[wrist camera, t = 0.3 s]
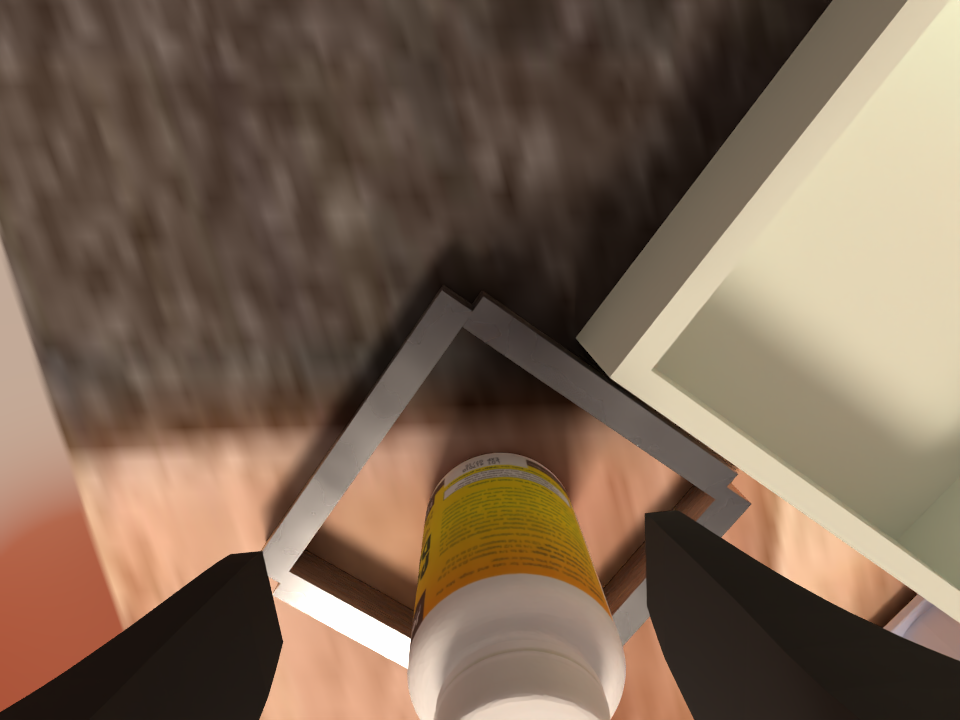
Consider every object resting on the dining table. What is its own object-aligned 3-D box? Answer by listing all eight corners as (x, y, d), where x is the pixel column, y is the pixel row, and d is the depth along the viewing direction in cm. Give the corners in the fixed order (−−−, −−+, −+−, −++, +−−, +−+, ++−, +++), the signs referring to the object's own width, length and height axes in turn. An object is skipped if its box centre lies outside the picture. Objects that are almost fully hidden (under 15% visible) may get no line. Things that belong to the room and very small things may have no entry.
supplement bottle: (410, 463, 21) (363, 691, 11) (556, 432, 21) (640, 636, 11) (444, 588, 22) (429, 887, 13) (580, 559, 22) (674, 840, 12)
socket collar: (742, 472, 21) (762, 491, 20) (533, 707, 24) (538, 739, 23) (453, 269, 19) (452, 274, 18) (257, 554, 22) (243, 579, 20)
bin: (1202, 228, 19) (1434, 234, 15) (880, 553, 23) (988, 643, 18) (893, -80, 17) (1058, -191, 12) (575, 337, 20) (609, 377, 15)
